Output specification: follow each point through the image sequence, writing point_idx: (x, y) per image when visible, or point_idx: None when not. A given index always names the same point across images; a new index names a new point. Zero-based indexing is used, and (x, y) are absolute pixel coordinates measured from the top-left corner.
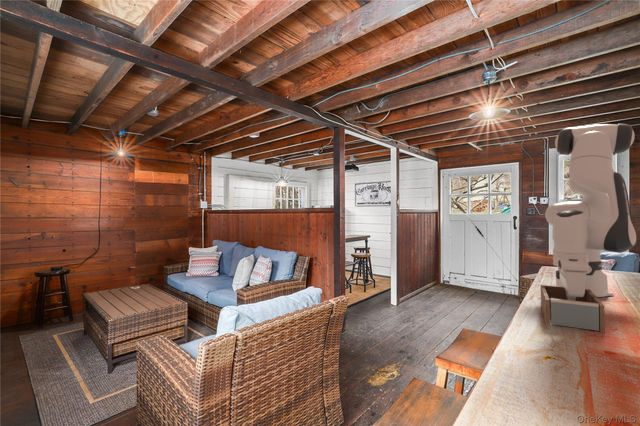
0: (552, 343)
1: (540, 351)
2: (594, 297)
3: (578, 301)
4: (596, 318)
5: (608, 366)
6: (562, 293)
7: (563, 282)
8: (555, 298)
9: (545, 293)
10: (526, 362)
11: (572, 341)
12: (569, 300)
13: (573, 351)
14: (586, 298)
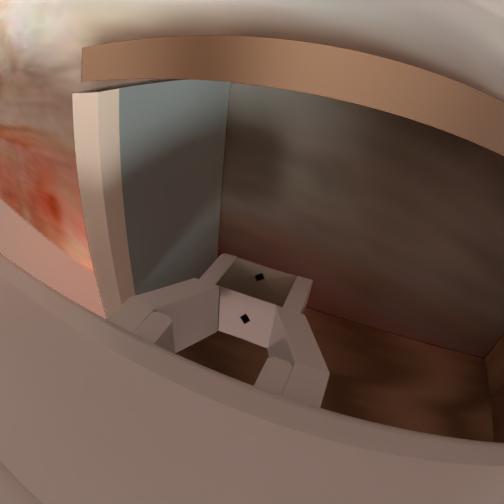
0: (38, 69)
1: (3, 47)
2: None
3: (113, 298)
4: None
5: (6, 172)
6: None
7: (150, 439)
8: None
9: (406, 93)
10: None
11: (69, 129)
12: (103, 247)
13: (22, 119)
14: (493, 422)
